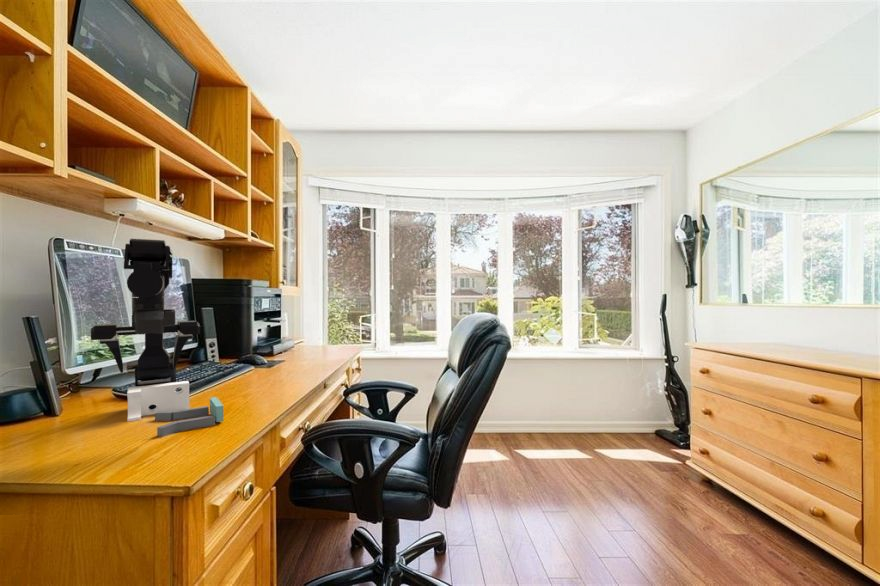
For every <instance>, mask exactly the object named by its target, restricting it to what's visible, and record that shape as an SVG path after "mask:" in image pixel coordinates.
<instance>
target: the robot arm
mask: <svg viewBox="0 0 880 586" xmlns="http://www.w3.org/2000/svg"><path fill="white" fill-rule="evenodd" d="M128 242H129V243H125V248H124V258H123V260H124V261H123V269H124V270H132V272H131V273H130V274H129V275H128V276H127V277H128V278H127V280H126V285H127V289H128V290H129V291H130V293H131V326H118V325H117V324H118V323H106V324H103V323H102V324H95V325H94V326H92V328H90V341H99V344H100V345H106V346H107V348H108V349H109V350H110V352H111V354H112V355H113V358H114V360H115V362H116V365H117V367H118V369H119V372H120V374H121V373H124V363H123V357H122V356H123V355H122V350H121V345H120V340H119V337H118V336H130V335H131V336H134V335H144V349H143V351H142V353H141V354H140V355H139V358H138V359H137V364H134V385H135V386H134V387H138V386H147V385H156V384H165V383H173V382H177V364H178V362H179V359H180V356H181V355H182V354H181V353H182V351H183V348H184V346H185V345H186V343H187V341H188V340H189V339H194V335H201V324H200V323H199V322H198V321H197V320H178V321H177V323H176V310H175V308H172V309H171V308H170V309H169V308H168V309H167V308H165V291H166V289H167V288H168V287H169V285H170V279H173V250H172V249H171V246H170V245H166V241H165V240H164V239H163V240H162V239H146V238H145V239H144V238H130V239H129V241H128ZM168 333H169V334H170V333H177V334H175V340H174V347H173V348H174V349H173V355H172V356H173V357H172V361H171V355H170V353H169V352H168V351H167V349H166V348H165V347H164V334H168ZM155 408H156V405H150V406H149V409H155Z"/></svg>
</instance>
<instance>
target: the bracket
mask: <svg viewBox="0 0 880 586" xmlns="http://www.w3.org/2000/svg"><path fill="white" fill-rule="evenodd" d="M178 388H180V390H179V391H176V390H177V389H178ZM126 394H127V395H126V396H127V422H135V421H142V416H149V415H155V413H156V412H159V411H178V410H184V409H190V382H189V380H183V381H176V382H173V383H165V384H156V385H147V386H138V387H135V386H129V387H128V388H127V392H126ZM150 405H156V408H155V409H149V406H150Z"/></svg>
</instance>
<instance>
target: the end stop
mask: <svg viewBox="0 0 880 586" xmlns="http://www.w3.org/2000/svg"><path fill="white" fill-rule="evenodd" d="M209 414H210V415H214V416H215V423H219V422H224V404H223V403H222V402H221V401H220V400H219V398H218V397H217V396H215V397H209Z"/></svg>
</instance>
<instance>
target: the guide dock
mask: <svg viewBox="0 0 880 586" xmlns="http://www.w3.org/2000/svg"><path fill="white" fill-rule="evenodd" d="M154 421H155V422H157V421H161V422H162V421H164V422H165V421H166V422H168V421H169V423H165V424H163V425H159V426H157V428H156V431H157V432H156V434H157V436H156V437H161V438H164V437H166V436H169V435H171V434H175V433H178V432H183V431H184V432H185V431H189V430H194V429H201V428H205V427H211V426H212V427H213V426H216V421H215V416H214V415H212V414H210V406H208V405H205V406H197V407H191V408H189V409H184V410H178V411H159V412H156V413H155V414H154ZM171 421H172V422H171Z"/></svg>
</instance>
